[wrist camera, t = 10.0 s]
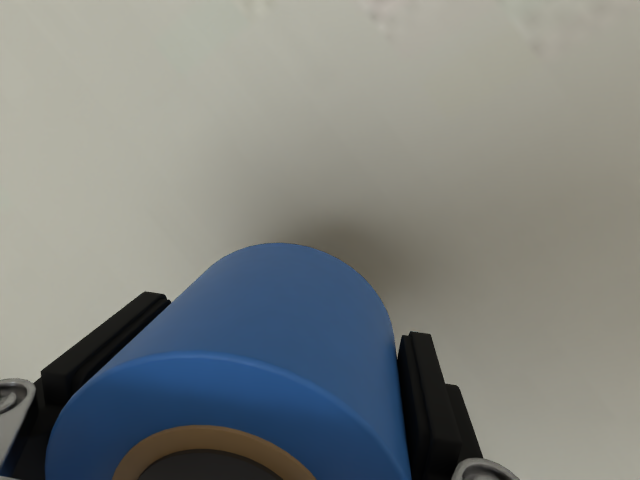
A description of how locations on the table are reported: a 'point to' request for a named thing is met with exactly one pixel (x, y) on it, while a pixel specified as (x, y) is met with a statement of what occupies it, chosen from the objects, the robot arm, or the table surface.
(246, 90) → the table surface
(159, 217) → the table surface
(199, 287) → the tape
